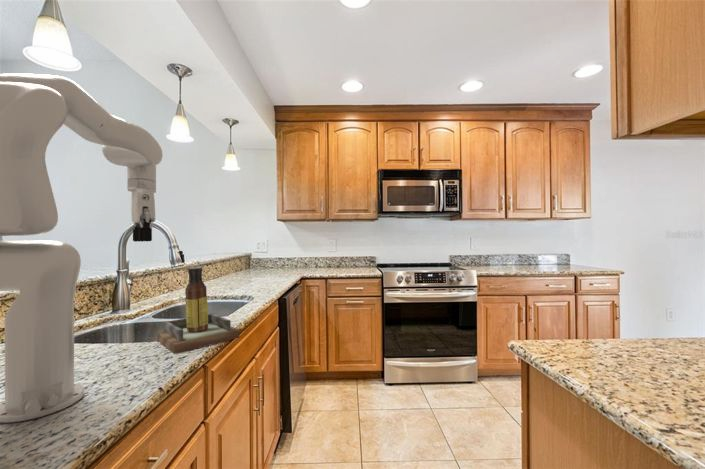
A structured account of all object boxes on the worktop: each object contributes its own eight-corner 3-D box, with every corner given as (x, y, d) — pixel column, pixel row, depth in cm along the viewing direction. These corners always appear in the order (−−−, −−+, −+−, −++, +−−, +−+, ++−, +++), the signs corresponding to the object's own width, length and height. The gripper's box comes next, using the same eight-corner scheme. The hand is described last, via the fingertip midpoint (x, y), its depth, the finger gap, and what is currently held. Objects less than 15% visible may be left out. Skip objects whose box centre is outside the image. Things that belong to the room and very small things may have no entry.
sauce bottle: (206, 326, 105) (206, 266, 105) (209, 330, 100) (209, 267, 100) (184, 329, 102) (184, 267, 102) (186, 334, 96) (186, 268, 97)
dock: (239, 337, 101) (239, 320, 102) (174, 353, 88) (173, 333, 88) (218, 328, 113) (218, 312, 113) (157, 341, 99) (157, 323, 99)
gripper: (162, 184, 96) (162, 241, 96) (149, 191, 109) (149, 241, 108) (132, 181, 91) (132, 241, 91) (122, 189, 103) (122, 241, 103)
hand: (142, 241), depth 99 cm, fingers open, 9 cm apart
